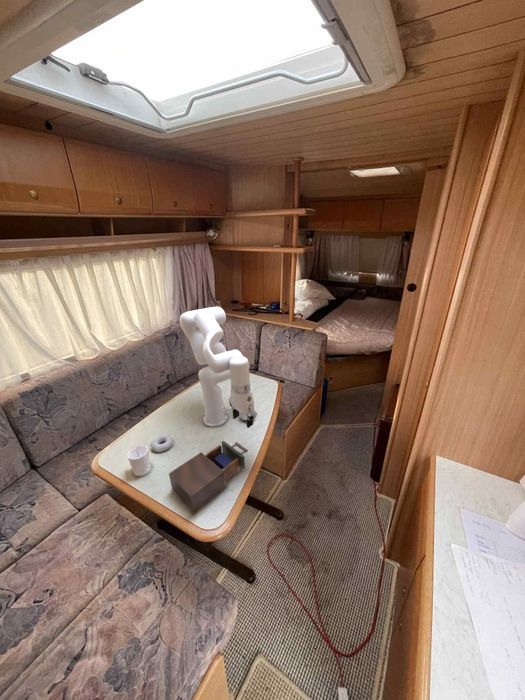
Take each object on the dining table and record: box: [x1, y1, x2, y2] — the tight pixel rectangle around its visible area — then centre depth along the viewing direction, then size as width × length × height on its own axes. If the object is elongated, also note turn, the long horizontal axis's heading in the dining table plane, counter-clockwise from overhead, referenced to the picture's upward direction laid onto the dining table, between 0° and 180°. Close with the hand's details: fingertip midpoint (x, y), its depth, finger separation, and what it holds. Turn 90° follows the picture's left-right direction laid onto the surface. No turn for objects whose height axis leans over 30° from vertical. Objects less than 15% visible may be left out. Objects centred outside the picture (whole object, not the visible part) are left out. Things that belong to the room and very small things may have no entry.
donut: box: [150, 434, 174, 453], centre depth 129 cm, size 10×4×10 cm
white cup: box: [126, 444, 152, 477], centre depth 115 cm, size 8×8×10 cm
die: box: [239, 412, 251, 421], centre depth 145 cm, size 8×9×10 cm
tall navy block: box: [214, 452, 232, 469], centre depth 114 cm, size 8×4×3 cm, turn 46°
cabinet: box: [168, 452, 226, 514], centre depth 105 cm, size 15×15×9 cm
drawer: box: [204, 440, 249, 482], centre depth 115 cm, size 18×14×7 cm
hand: (243, 421), depth 116 cm, fingers open, 8 cm apart
